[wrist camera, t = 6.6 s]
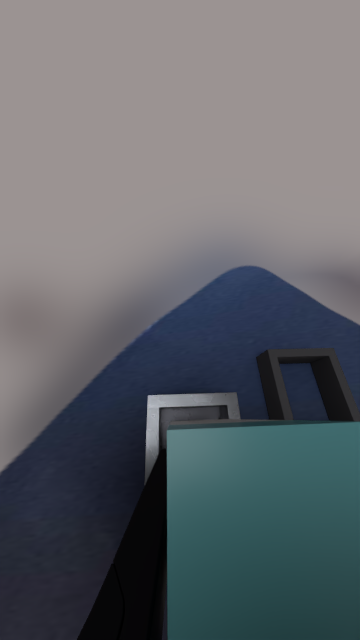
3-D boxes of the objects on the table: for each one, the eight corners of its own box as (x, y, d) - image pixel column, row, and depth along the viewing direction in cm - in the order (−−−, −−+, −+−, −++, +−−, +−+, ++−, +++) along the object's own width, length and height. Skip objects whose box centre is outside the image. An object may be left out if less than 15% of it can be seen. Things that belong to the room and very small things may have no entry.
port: (241, 507, 17) (257, 528, 14) (148, 513, 16) (142, 536, 13) (226, 396, 21) (236, 392, 18) (151, 398, 20) (147, 395, 17)
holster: (342, 434, 20) (369, 437, 17) (273, 437, 19) (289, 441, 17) (314, 356, 23) (333, 348, 20) (256, 357, 23) (267, 349, 20)
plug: (235, 508, 12) (667, 1122, 2) (172, 511, 12) (170, 1243, 1) (224, 419, 15) (371, 421, 4) (171, 421, 14) (167, 430, 4)
